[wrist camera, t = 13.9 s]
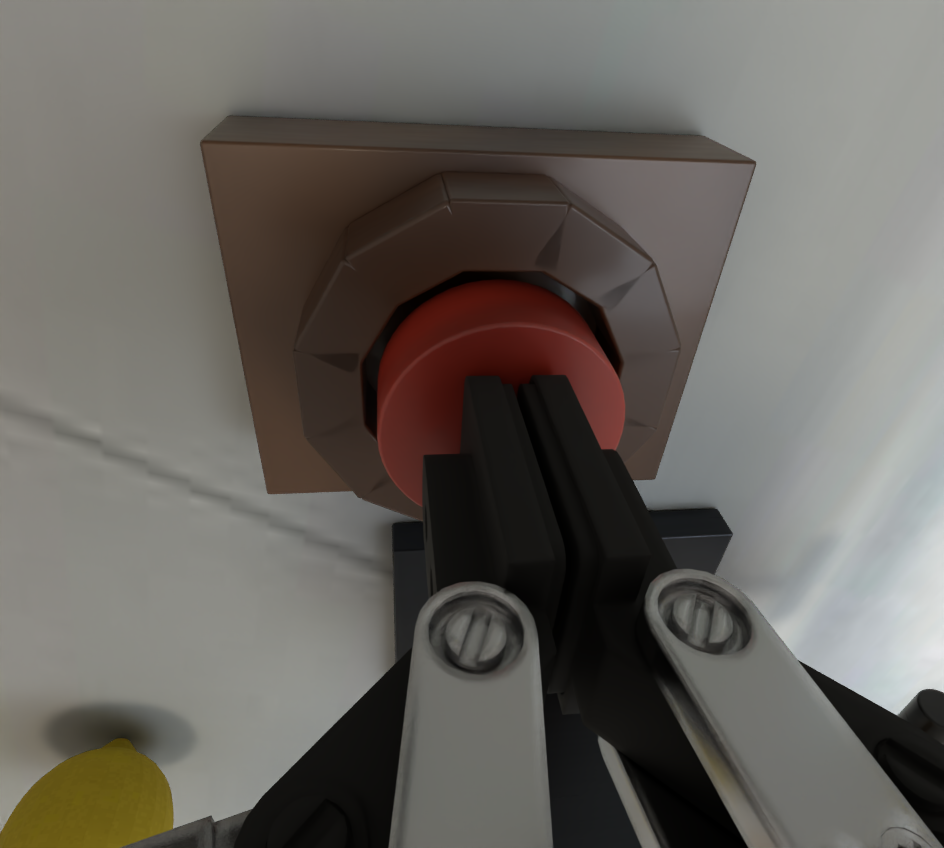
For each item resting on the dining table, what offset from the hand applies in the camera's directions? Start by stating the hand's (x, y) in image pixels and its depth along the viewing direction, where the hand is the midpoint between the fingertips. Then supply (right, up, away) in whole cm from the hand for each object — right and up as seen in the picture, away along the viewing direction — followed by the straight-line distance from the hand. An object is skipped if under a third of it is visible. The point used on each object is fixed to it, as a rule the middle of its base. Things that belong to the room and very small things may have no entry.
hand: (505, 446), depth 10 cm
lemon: (-15, -12, +14) cm, 24 cm away
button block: (-1, +3, +4) cm, 6 cm away
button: (0, +1, +1) cm, 2 cm away
